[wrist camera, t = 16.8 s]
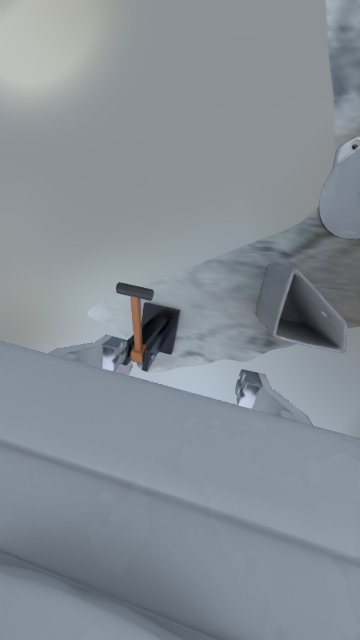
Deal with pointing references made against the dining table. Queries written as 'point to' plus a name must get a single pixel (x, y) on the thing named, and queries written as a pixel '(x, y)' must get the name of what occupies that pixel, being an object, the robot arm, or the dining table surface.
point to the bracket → (155, 333)
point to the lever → (136, 316)
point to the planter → (299, 311)
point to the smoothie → (124, 368)
